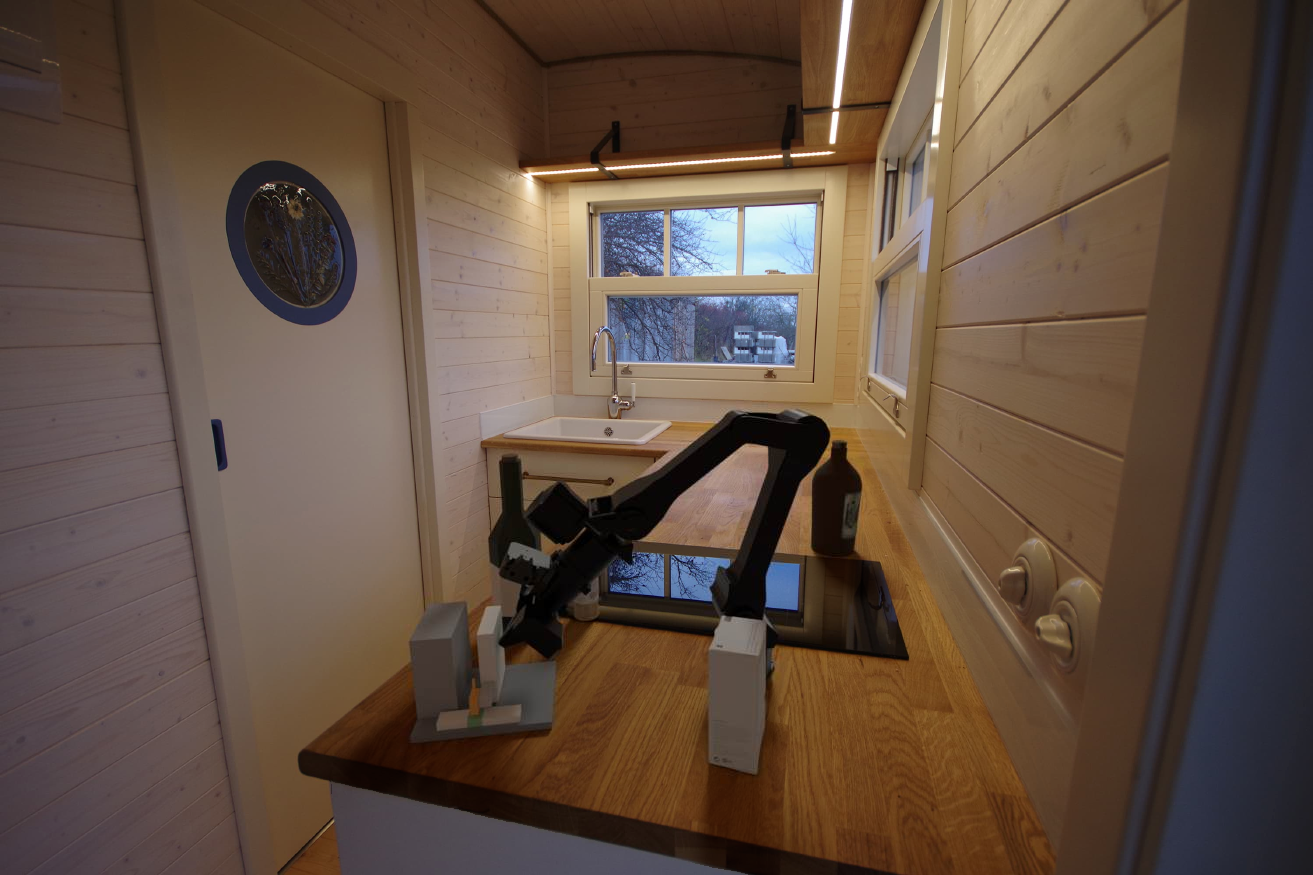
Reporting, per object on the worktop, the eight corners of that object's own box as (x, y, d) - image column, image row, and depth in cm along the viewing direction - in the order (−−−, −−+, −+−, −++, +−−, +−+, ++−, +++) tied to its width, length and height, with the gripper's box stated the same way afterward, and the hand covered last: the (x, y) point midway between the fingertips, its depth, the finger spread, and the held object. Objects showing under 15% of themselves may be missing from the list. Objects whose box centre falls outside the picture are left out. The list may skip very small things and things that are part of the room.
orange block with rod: (481, 704, 67) (478, 674, 66) (478, 714, 66) (476, 683, 65) (473, 705, 67) (470, 674, 66) (470, 715, 65) (467, 684, 65)
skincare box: (757, 776, 59) (762, 659, 56) (704, 764, 61) (706, 649, 58) (765, 724, 67) (769, 618, 64) (718, 714, 69) (720, 611, 66)
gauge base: (556, 666, 79) (553, 593, 76) (552, 728, 67) (547, 643, 64) (437, 677, 77) (430, 602, 74) (410, 743, 64) (400, 655, 62)
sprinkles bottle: (590, 605, 96) (588, 536, 93) (604, 616, 93) (602, 544, 90) (568, 614, 93) (565, 543, 90) (582, 625, 90) (579, 551, 87)
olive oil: (799, 548, 121) (805, 441, 115) (822, 535, 128) (829, 434, 123) (843, 562, 113) (851, 449, 108) (865, 548, 120) (874, 441, 115)
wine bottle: (555, 619, 92) (547, 452, 85) (524, 645, 84) (513, 464, 78) (517, 609, 95) (506, 447, 89) (484, 633, 88) (470, 458, 81)
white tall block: (505, 668, 76) (500, 605, 74) (494, 718, 66) (488, 647, 64) (491, 669, 76) (486, 606, 74) (478, 719, 66) (471, 648, 64)
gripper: (540, 502, 78) (468, 577, 79) (527, 556, 60) (434, 651, 61) (595, 549, 81) (525, 620, 81) (599, 614, 62) (509, 704, 63)
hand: (501, 644), depth 72 cm, fingers closed, pressing on white tall block
